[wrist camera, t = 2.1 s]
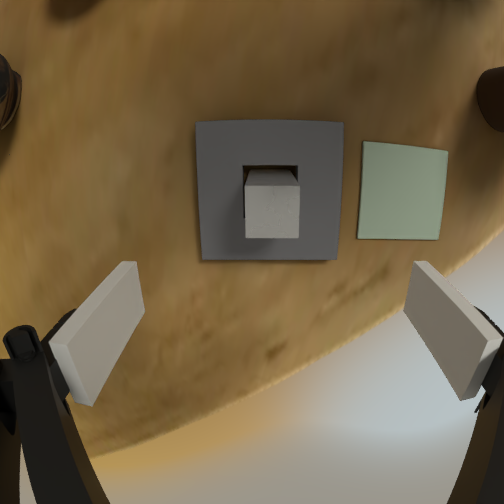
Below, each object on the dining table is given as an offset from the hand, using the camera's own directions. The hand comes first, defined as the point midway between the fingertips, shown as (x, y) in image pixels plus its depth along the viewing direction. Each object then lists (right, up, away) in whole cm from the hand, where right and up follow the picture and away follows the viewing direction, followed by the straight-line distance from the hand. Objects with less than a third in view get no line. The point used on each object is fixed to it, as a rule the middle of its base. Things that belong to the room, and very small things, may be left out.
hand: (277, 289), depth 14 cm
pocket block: (+1, +9, +23) cm, 25 cm away
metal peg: (+1, +9, +23) cm, 25 cm away
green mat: (+18, +9, +22) cm, 30 cm away
